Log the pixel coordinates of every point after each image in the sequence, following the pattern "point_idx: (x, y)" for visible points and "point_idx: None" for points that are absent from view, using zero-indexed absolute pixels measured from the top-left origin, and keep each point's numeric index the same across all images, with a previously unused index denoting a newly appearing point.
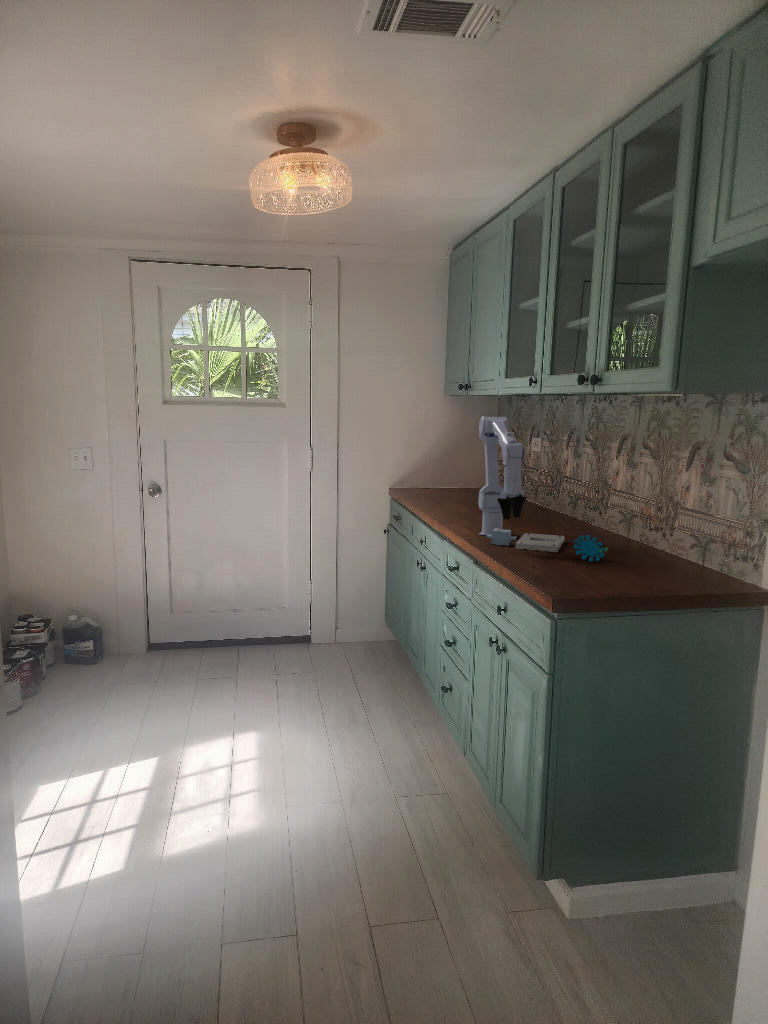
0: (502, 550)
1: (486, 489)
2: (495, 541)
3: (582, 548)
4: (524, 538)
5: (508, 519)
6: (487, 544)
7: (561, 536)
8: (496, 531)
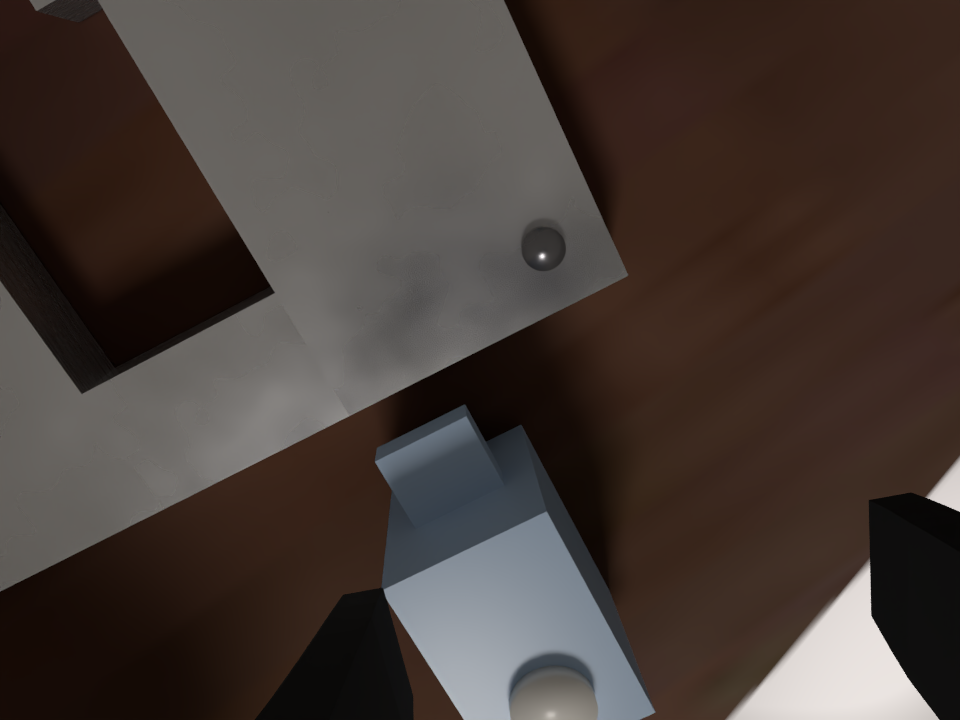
0: (803, 307)
1: None
2: (598, 579)
3: None
4: (242, 401)
5: (917, 499)
6: (637, 620)
7: None
8: (628, 658)
